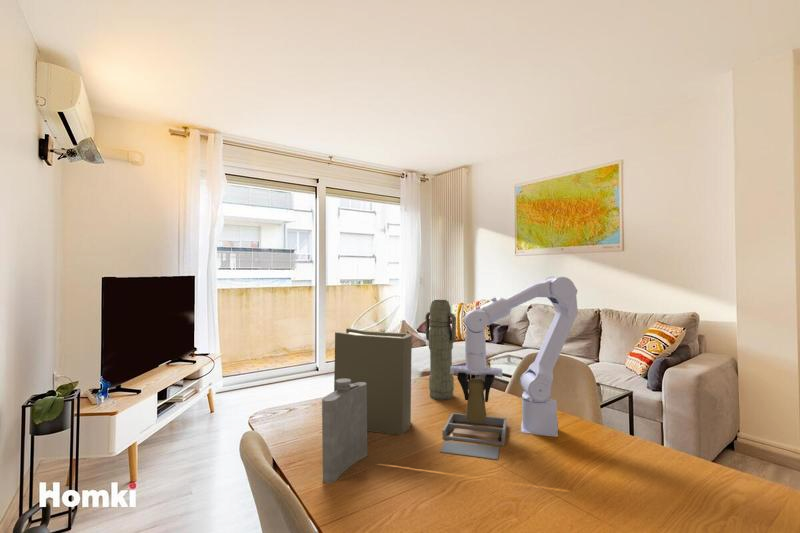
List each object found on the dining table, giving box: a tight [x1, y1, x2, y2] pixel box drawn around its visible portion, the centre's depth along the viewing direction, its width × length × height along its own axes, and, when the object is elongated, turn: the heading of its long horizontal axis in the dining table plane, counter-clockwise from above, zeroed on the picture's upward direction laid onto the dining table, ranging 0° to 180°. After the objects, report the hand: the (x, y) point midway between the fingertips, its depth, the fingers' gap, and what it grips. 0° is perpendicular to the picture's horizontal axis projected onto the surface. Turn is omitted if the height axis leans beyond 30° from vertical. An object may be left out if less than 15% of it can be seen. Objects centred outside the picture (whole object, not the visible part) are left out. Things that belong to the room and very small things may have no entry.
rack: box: [441, 412, 508, 446], centre depth 109 cm, size 16×14×2 cm
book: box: [333, 327, 413, 436], centre depth 115 cm, size 22×9×28 cm, turn 74°
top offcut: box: [453, 428, 501, 442], centre depth 105 cm, size 12×4×1 cm, turn 70°
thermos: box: [425, 299, 457, 401], centre depth 142 cm, size 9×12×35 cm
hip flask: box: [321, 378, 368, 484], centre depth 91 cm, size 16×4×20 cm, turn 154°
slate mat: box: [439, 440, 500, 461], centre depth 97 cm, size 14×6×1 cm, turn 72°
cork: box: [465, 377, 487, 422], centre depth 111 cm, size 6×6×11 cm
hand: (476, 400), depth 111 cm, fingers closed on cork, 5 cm apart
